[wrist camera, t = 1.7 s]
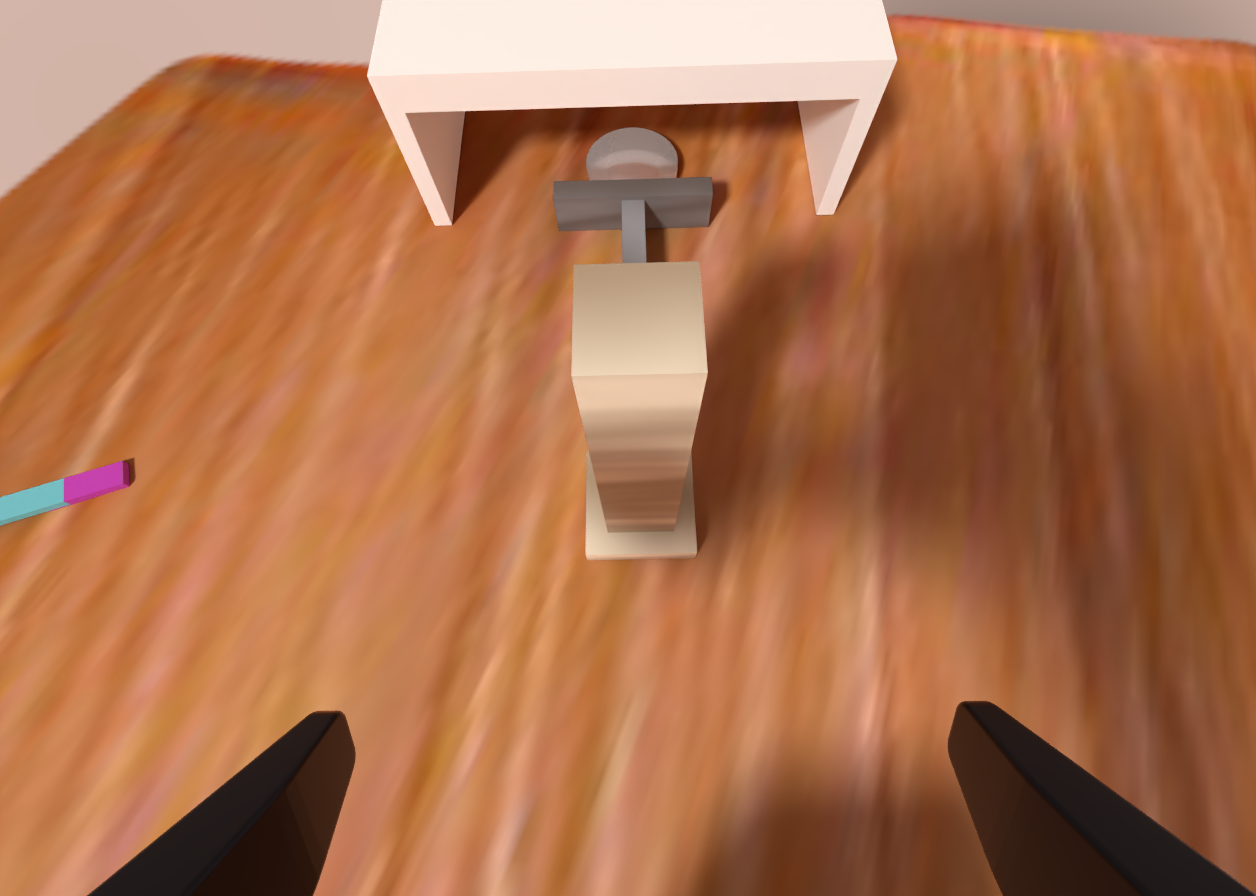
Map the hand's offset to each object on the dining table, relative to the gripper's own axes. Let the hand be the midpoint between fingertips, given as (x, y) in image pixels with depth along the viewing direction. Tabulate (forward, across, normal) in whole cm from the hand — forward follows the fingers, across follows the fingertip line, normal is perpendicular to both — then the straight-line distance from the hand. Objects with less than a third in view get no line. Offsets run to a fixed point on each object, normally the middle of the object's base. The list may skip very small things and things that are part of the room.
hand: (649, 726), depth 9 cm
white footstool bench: (+26, 0, -9) cm, 28 cm away
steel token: (+26, 0, -8) cm, 27 cm away
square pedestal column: (+18, 0, 0) cm, 18 cm away
